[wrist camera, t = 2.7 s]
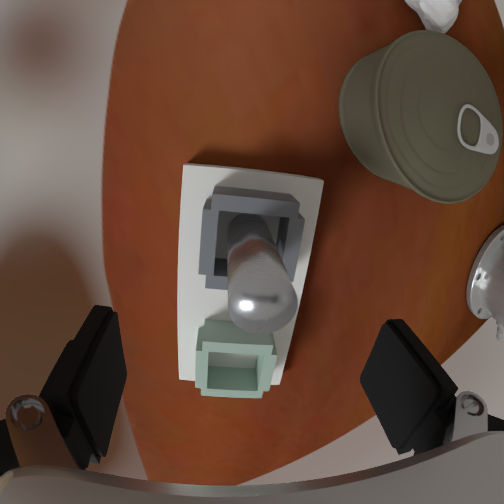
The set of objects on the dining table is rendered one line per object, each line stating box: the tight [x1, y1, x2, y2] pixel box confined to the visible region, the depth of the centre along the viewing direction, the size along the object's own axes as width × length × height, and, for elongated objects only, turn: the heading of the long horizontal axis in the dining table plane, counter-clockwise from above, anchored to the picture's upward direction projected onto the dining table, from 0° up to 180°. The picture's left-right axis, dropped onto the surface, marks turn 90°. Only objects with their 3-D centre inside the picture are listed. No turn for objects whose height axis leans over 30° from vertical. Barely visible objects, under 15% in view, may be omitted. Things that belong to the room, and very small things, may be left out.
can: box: [339, 30, 503, 204], centre depth 18 cm, size 12×12×7 cm
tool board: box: [178, 163, 324, 398], centre depth 23 cm, size 20×10×4 cm, turn 173°
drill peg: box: [227, 213, 298, 334], centre depth 17 cm, size 3×3×10 cm
